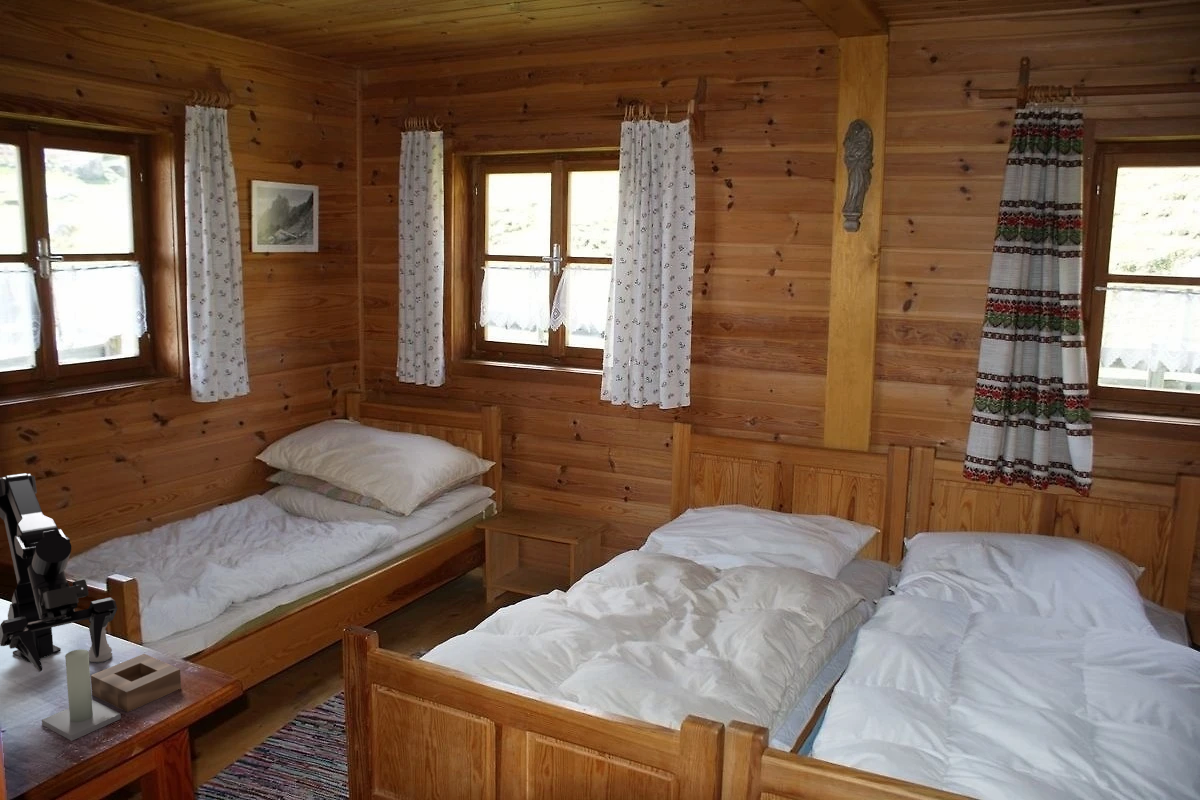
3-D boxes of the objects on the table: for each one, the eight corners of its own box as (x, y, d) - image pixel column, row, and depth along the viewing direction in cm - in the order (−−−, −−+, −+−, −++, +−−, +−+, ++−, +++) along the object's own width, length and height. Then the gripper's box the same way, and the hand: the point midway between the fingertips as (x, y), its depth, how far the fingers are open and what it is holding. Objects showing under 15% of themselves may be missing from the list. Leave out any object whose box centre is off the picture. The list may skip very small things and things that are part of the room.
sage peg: (67, 715, 172) (63, 652, 169) (90, 709, 174) (86, 647, 171) (72, 724, 169) (67, 660, 166) (94, 717, 171) (90, 655, 169)
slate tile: (42, 724, 170) (41, 719, 170) (91, 703, 178) (90, 698, 177) (71, 740, 165) (71, 735, 165) (120, 718, 173) (120, 713, 173)
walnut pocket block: (91, 694, 181) (90, 675, 180) (145, 672, 190) (144, 653, 189) (127, 712, 175) (126, 692, 175) (180, 688, 185) (180, 669, 184)
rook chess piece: (102, 664, 192) (100, 627, 191) (82, 661, 193) (80, 624, 192) (117, 654, 197) (115, 618, 195) (98, 652, 198) (96, 615, 196)
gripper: (-4, 578, 168) (15, 661, 163) (111, 557, 181) (133, 632, 175) (-10, 605, 176) (8, 685, 170) (101, 582, 188) (121, 656, 182)
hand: (69, 663), depth 174 cm, fingers open, 9 cm apart
